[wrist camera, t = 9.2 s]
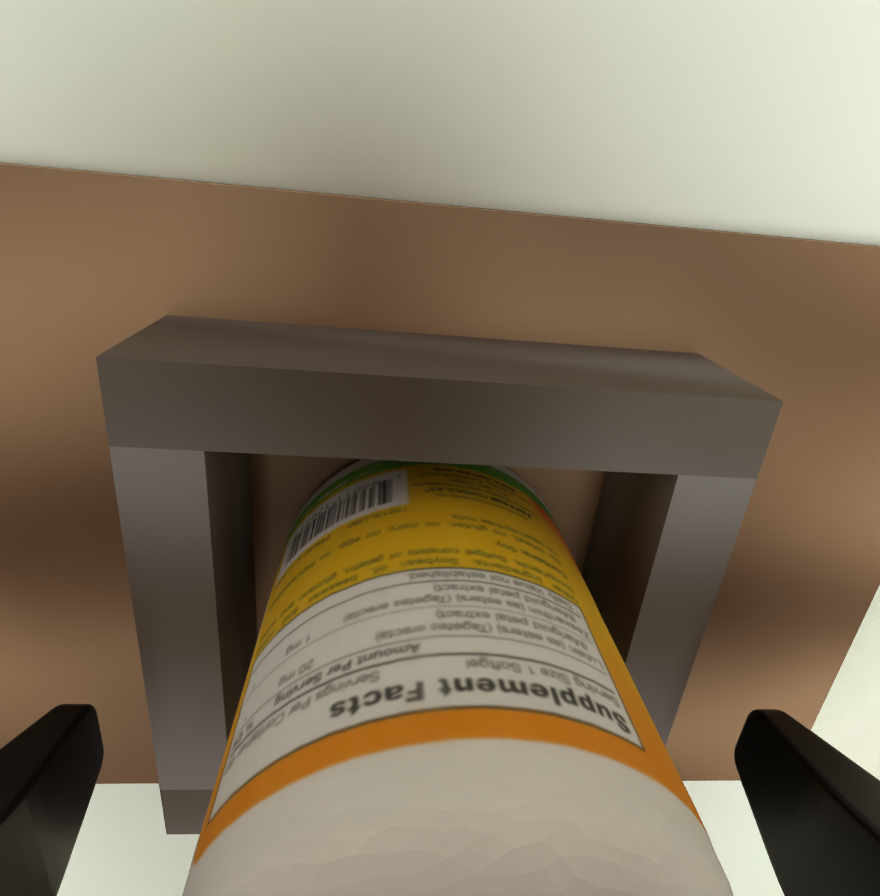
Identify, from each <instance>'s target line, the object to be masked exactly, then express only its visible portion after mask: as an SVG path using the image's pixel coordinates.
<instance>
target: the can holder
mask: <svg viewBox="0 0 880 896" xmlns="http://www.w3.org/2000/svg"><path fill="white" fill-rule="evenodd" d="M362 459H371V460H391V461H411V462H431V463H451V464H471V465H491V466H504V467H506V468H508V469H509V470H511V471H512V472H513V473H515V474H516V475H518V476H519V477H520V478H521V479H523V480H524V481H525V482H526V483H527V484H528V485H529V486H530V487H531V488H532V489H533V490H534V491H535V492H536V494H537V495H538V496H539V497H540V498H541V500H542V501H543V503H544V504H545V506H546V507H547V509H548V510H549V512H550V514H551V516H552V517H553V519H554V521H555V523H556V525H557V527H558V529H559V531H560V533H561V535H562V537H563V538H564V540H565V542H566V544H567V546H568V548H569V550H570V552H571V554H572V556H573V558H574V561H575V563H576V565H577V567H578V569H579V571H580V573H581V575H582V577H583V579H584V581H585V583H586V585H587V587H588V589H589V591H590V593H591V595H592V597H593V599H594V602H595V604H596V606H597V608H598V610H599V612H600V615H601V617H602V619H603V621H604V623H605V625H606V627H607V629H608V631H609V633H610V635H611V637H612V639H613V641H614V643H615V645H616V647H617V649H618V651H619V653H620V655H621V657H622V659H623V661H624V663H625V665H626V667H627V669H628V671H629V673H630V676H631V678H632V680H633V682H634V684H635V686H636V688H637V690H638V692H639V694H640V696H641V698H642V700H643V702H644V704H645V707H646V709H647V711H648V713H649V715H650V717H651V719H652V721H653V723H654V725H655V727H656V729H657V731H658V733H659V735H660V737H661V739H662V741H663V743H664V745H665V748H666V750H667V752H668V754H669V756H670V758H671V760H672V762H673V764H674V766H675V768H676V770H677V772H678V774H679V776H680V778H681V780H682V781H706V780H741V779H740V777H739V774H738V771H737V768H736V765H735V760H734V749H735V746H736V743H737V741H738V738H739V736H740V733H741V731H742V728H743V726H744V723H745V721H746V718H747V716H748V714H749V713H750V712H751V711H753V710H755V709H777V710H781V711H783V712H785V713H787V714H788V715H790V716H791V717H793V718H794V719H795V720H797V721H798V722H799V723H801V724H802V725H804V726H805V727H806V728H808V729H809V730H811V728H812V726H813V724H814V722H815V720H816V718H817V716H818V713H819V711H820V709H821V707H822V705H823V703H824V701H825V699H826V697H827V694H828V692H829V690H830V688H831V686H832V684H833V682H834V680H835V678H836V675H837V673H838V671H839V669H840V667H841V665H842V663H843V661H844V659H845V656H846V654H847V652H848V650H849V648H850V646H851V644H852V642H853V640H854V637H855V635H856V633H857V631H858V629H859V627H860V625H861V623H862V621H863V618H864V616H865V614H866V612H867V610H868V608H869V606H870V604H871V602H872V599H873V597H874V595H875V593H876V591H877V589H878V587H879V585H880V246H875V245H864V244H854V243H843V242H833V241H822V240H811V239H801V238H790V237H780V236H769V235H759V234H748V233H738V232H727V231H717V230H706V229H696V228H685V227H675V226H664V225H654V224H643V223H633V222H622V221H611V220H601V219H590V218H580V217H569V216H559V215H548V214H538V213H527V212H517V211H506V210H496V209H485V208H475V207H464V206H454V205H443V204H432V203H422V202H411V201H401V200H390V199H380V198H369V197H359V196H348V195H338V194H327V193H317V192H306V191H296V190H285V189H275V188H264V187H254V186H243V185H232V184H222V183H211V182H201V181H190V180H180V179H169V178H159V177H148V176H138V175H127V174H117V173H106V172H96V171H85V170H75V169H64V168H53V167H43V166H32V165H22V164H11V163H1V162H0V748H2V747H3V746H4V745H6V744H7V743H8V742H10V741H11V740H12V739H13V738H15V737H16V736H17V735H19V734H20V733H21V732H23V731H24V730H25V729H26V728H28V727H29V726H30V725H32V724H33V723H34V722H36V721H37V720H38V719H39V718H41V717H42V716H43V715H45V714H46V713H47V712H49V711H50V710H51V709H53V708H54V707H56V706H58V705H61V704H90V705H92V706H94V708H95V709H96V712H97V716H98V721H99V726H100V731H101V736H102V741H103V746H104V757H103V763H102V767H101V770H100V773H99V776H98V779H97V782H96V784H111V783H159V786H160V793H161V800H162V807H163V813H164V820H165V827H166V834H200V833H201V829H202V826H203V823H204V819H205V816H206V813H207V810H208V806H209V803H210V800H211V796H212V793H213V789H214V785H215V782H216V779H217V776H218V772H219V769H220V766H221V762H222V759H223V756H224V752H225V749H226V745H227V742H228V738H229V735H230V732H231V728H232V725H233V721H234V718H235V715H236V711H237V708H238V704H239V701H240V698H241V694H242V691H243V687H244V684H245V680H246V677H247V673H248V670H249V667H250V663H251V660H252V656H253V653H254V649H255V646H256V642H257V639H258V635H259V632H260V628H261V625H262V621H263V618H264V614H265V611H266V607H267V604H268V600H269V597H270V593H271V590H272V586H273V583H274V579H275V576H276V573H277V569H278V566H279V562H280V559H281V556H282V553H283V550H284V546H285V544H286V541H287V538H288V536H289V533H290V530H291V528H292V526H293V524H294V521H295V520H296V518H297V516H298V514H299V513H300V511H301V510H302V508H303V507H304V505H305V504H306V503H307V501H308V500H309V499H310V498H311V496H312V495H313V494H314V493H315V492H316V491H317V490H318V489H319V488H320V487H321V486H322V485H323V484H324V483H325V482H327V481H328V480H329V479H330V478H331V477H333V476H334V475H335V474H337V473H338V472H340V471H341V470H343V469H344V468H346V467H348V466H350V465H351V464H353V463H355V462H357V461H360V460H362Z"/></svg>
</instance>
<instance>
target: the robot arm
mask: <svg viewBox="0 0 880 896" xmlns="http://www.w3.org/2000/svg"><path fill="white" fill-rule="evenodd" d="M103 757H104V746H103V741H102V736H101V731H100V726H99V721H98V716H97V712H96V709H95V708H94V706H92V705H90V704H61V705H58V706H56V707H54V708H53V709H51V710H50V711H49V712H47V713H46V714H45V715H43V716H42V717H41V718H39V719H38V720H37V721H36V722H34V723H33V724H32V725H30V726H29V727H28V728H26V729H25V730H24V731H23V732H21V733H20V734H19V735H17V736H16V737H15V738H13V739H12V740H11V741H10V742H8V743H7V744H6V745H4V746H3V747H2V748H0V896H57V893H58V890H59V888H60V885H61V882H62V880H63V877H64V874H65V871H66V868H67V865H68V862H69V860H70V857H71V854H72V851H73V848H74V845H75V842H76V839H77V836H78V834H79V831H80V828H81V825H82V822H83V819H84V816H85V813H86V810H87V808H88V805H89V802H90V799H91V796H92V793H93V790H94V787H95V785H96V782H97V779H98V776H99V773H100V770H101V767H102V763H103ZM734 760H735V765H736V768H737V771H738V774H739V777H740V779H741V782H742V785H743V788H744V790H745V793H746V796H747V798H748V801H749V804H750V807H751V809H752V812H753V815H754V818H755V820H756V823H757V826H758V829H759V831H760V834H761V837H762V839H763V842H764V845H765V848H766V850H767V853H768V856H769V859H770V861H771V864H772V866H773V869H774V871H775V874H776V876H777V879H778V881H779V884H780V886H781V888H782V891H783V893H784V895H785V896H880V780H878V779H877V778H875V777H874V776H873V775H871V774H870V773H869V772H867V771H866V770H864V769H863V768H862V767H860V766H859V765H857V764H856V763H855V762H853V761H852V760H851V759H849V758H848V757H846V756H845V755H844V754H842V753H841V752H840V751H838V750H837V749H835V748H834V747H833V746H831V745H830V744H828V743H827V742H826V741H824V740H823V739H822V738H820V737H819V736H817V735H816V734H815V733H813V732H812V731H811V730H809V729H808V728H806V727H805V726H804V725H802V724H801V723H799V722H798V721H797V720H795V719H794V718H793V717H791V716H790V715H788V714H787V713H785V712H783V711H781V710H777V709H755V710H753V711H751V712H750V713H749V714H748V716H747V718H746V721H745V723H744V726H743V728H742V731H741V733H740V736H739V738H738V741H737V743H736V746H735V749H734Z"/></svg>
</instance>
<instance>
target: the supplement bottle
mask: <svg viewBox="0 0 880 896" xmlns="http://www.w3.org/2000/svg"><path fill="white" fill-rule="evenodd" d="M183 896H733V893H732V890H731V887H730V884H729V881H728V879H727V877H726V875H725V873H724V870H723V868H722V866H721V864H720V862H719V860H718V858H717V855H716V853H715V851H714V848H713V846H712V843H711V841H710V838H709V836H708V834H707V832H706V829H705V827H704V825H703V823H702V821H701V819H700V817H699V814H698V812H697V810H696V808H695V806H694V804H693V802H692V800H691V798H690V796H689V794H688V792H687V790H686V788H685V786H684V784H683V782H682V780H681V778H680V776H679V774H678V772H677V770H676V768H675V766H674V764H673V762H672V760H671V758H670V756H669V754H668V752H667V750H666V748H665V745H664V743H663V741H662V739H661V737H660V735H659V733H658V731H657V729H656V727H655V725H654V723H653V721H652V719H651V717H650V715H649V713H648V711H647V709H646V707H645V704H644V702H643V700H642V698H641V696H640V694H639V692H638V690H637V688H636V686H635V684H634V682H633V680H632V678H631V676H630V673H629V671H628V669H627V667H626V665H625V663H624V661H623V659H622V657H621V655H620V653H619V651H618V649H617V647H616V645H615V643H614V641H613V639H612V637H611V635H610V633H609V631H608V629H607V627H606V625H605V623H604V621H603V619H602V617H601V615H600V612H599V610H598V608H597V606H596V604H595V602H594V599H593V597H592V595H591V593H590V591H589V589H588V587H587V585H586V583H585V581H584V579H583V577H582V575H581V573H580V571H579V569H578V567H577V565H576V563H575V561H574V558H573V556H572V554H571V552H570V550H569V548H568V546H567V544H566V542H565V540H564V538H563V537H562V535H561V533H560V531H559V529H558V527H557V525H556V523H555V521H554V519H553V517H552V516H551V514H550V512H549V510H548V509H547V507H546V506H545V504H544V503H543V501H542V500H541V498H540V497H539V496H538V495H537V494H536V492H535V491H534V490H533V489H532V488H531V487H530V486H529V485H528V484H527V483H526V482H525V481H524V480H523V479H521V478H520V477H519V476H518V475H516V474H515V473H513V472H512V471H511V470H509V469H508V468H506V467H504V466H491V465H471V464H451V463H431V462H411V461H391V460H371V459H362V460H360V461H357V462H355V463H353V464H351V465H350V466H348V467H346V468H344V469H343V470H341V471H340V472H338V473H337V474H335V475H334V476H333V477H331V478H330V479H329V480H328V481H327V482H325V483H324V484H323V485H322V486H321V487H320V488H319V489H318V490H317V491H316V492H315V493H314V494H313V495H312V496H311V498H310V499H309V500H308V501H307V503H306V504H305V505H304V507H303V508H302V510H301V511H300V513H299V514H298V516H297V518H296V520H295V521H294V524H293V526H292V528H291V530H290V533H289V536H288V538H287V541H286V544H285V546H284V550H283V553H282V556H281V559H280V562H279V566H278V569H277V573H276V576H275V579H274V583H273V586H272V590H271V593H270V597H269V600H268V604H267V607H266V611H265V614H264V618H263V621H262V625H261V628H260V632H259V635H258V639H257V642H256V646H255V649H254V653H253V656H252V660H251V663H250V667H249V670H248V673H247V677H246V680H245V684H244V687H243V691H242V694H241V698H240V701H239V704H238V708H237V711H236V715H235V718H234V721H233V725H232V728H231V732H230V735H229V738H228V742H227V745H226V749H225V752H224V756H223V759H222V762H221V766H220V769H219V772H218V776H217V779H216V782H215V785H214V789H213V793H212V796H211V800H210V803H209V806H208V810H207V813H206V816H205V819H204V823H203V826H202V829H201V833H200V836H199V839H198V842H197V846H196V849H195V853H194V857H193V860H192V864H191V867H190V871H189V874H188V878H187V881H186V885H185V889H184V892H183Z"/></svg>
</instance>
